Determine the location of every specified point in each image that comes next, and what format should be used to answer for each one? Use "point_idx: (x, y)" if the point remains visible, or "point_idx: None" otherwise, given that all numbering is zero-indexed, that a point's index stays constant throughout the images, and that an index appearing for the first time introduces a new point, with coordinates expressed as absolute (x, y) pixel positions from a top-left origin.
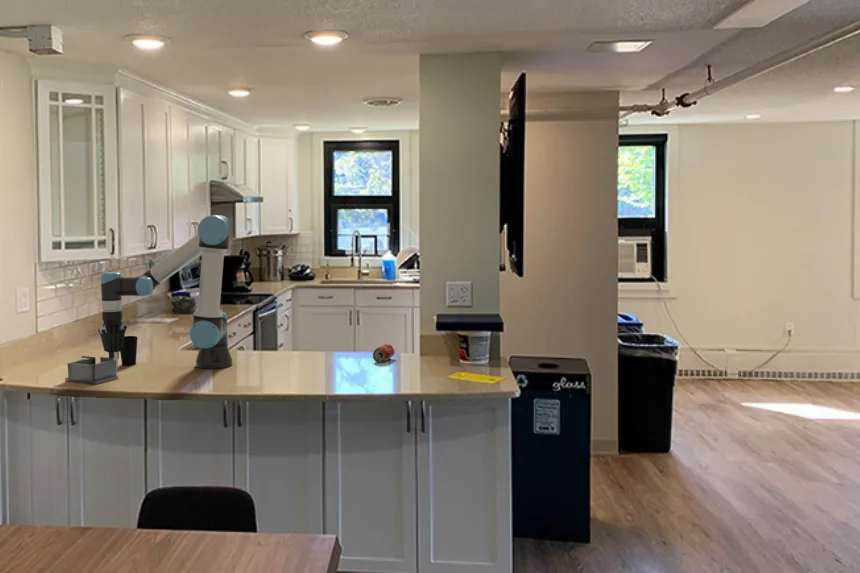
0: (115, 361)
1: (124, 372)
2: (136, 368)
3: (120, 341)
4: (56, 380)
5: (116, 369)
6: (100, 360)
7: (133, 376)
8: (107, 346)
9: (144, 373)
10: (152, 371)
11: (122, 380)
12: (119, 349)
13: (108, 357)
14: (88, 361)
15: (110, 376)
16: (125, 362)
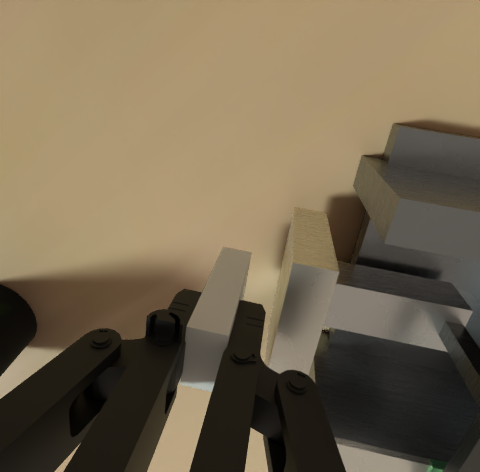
0: (402, 195)
1: (177, 217)
2: (50, 215)
3: (47, 426)
4: None
5: (295, 215)
6: None
7: (280, 52)
8: (337, 450)
9: (154, 36)
10: (70, 20)
11: (452, 38)
12: (128, 346)
13: (302, 338)
14: (394, 436)
15: (434, 171)
16: (19, 327)
